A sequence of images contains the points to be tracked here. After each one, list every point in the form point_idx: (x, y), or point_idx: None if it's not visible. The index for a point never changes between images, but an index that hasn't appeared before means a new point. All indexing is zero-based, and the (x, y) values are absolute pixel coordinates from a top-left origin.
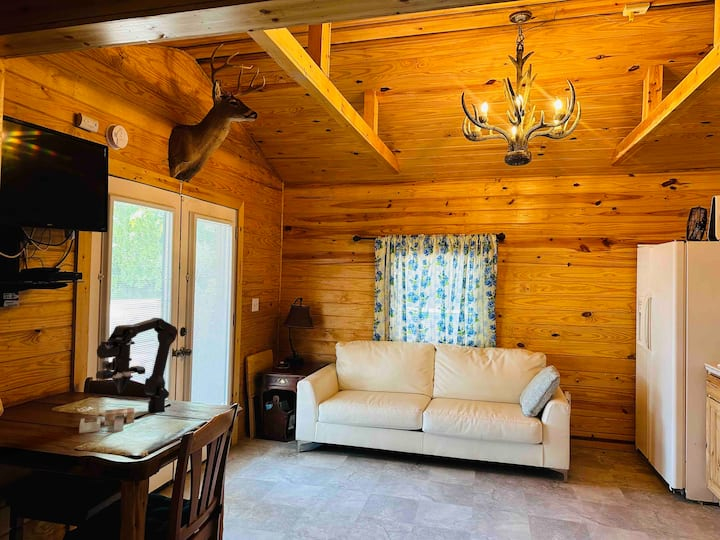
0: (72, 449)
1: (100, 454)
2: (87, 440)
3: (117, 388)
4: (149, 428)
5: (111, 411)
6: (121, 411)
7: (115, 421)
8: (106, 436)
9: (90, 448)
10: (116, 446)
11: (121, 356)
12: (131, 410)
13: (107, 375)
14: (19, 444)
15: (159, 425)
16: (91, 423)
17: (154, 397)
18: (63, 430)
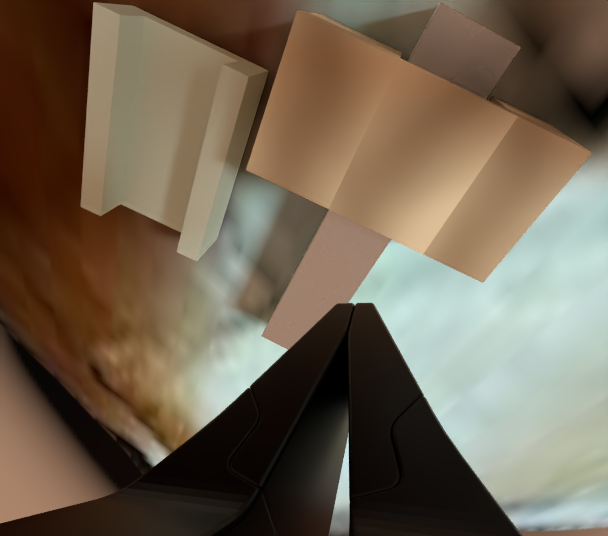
0: (83, 363)
1: (160, 457)
2: (141, 318)
3: (294, 352)
4: (451, 389)
5: (329, 120)
6: (399, 197)
7: (291, 291)
8: (224, 333)
9: (140, 399)
10: None
11: None
12: (489, 234)
13: None
14: None
15: (531, 391)
16: (189, 83)
17: None
18: (26, 31)
